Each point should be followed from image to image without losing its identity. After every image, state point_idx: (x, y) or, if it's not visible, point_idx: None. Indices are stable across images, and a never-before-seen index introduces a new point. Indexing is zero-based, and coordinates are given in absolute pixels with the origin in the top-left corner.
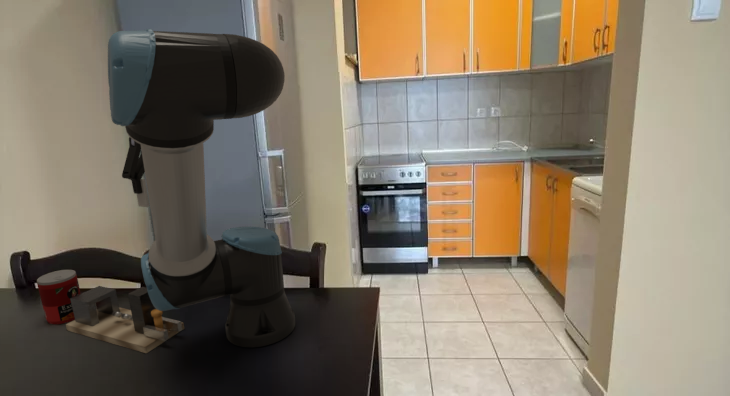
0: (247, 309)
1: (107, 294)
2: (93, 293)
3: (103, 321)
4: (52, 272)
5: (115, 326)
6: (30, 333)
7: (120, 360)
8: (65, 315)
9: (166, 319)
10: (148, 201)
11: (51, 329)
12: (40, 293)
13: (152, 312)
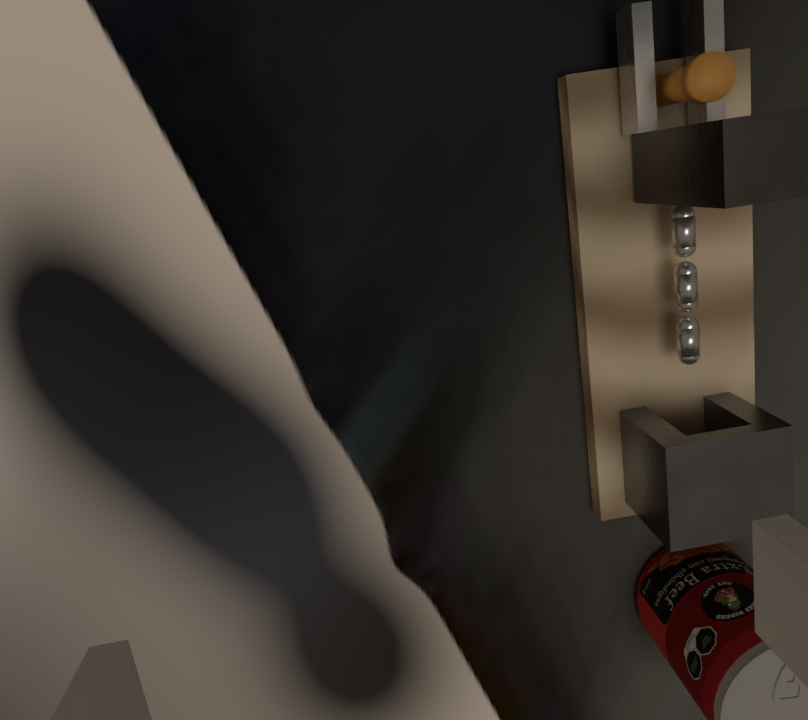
0: None
1: (701, 439)
2: (728, 493)
3: (690, 393)
4: None
5: (696, 311)
6: None
7: (794, 102)
8: (728, 552)
9: (645, 85)
10: (793, 547)
11: None
12: None
13: (728, 80)
